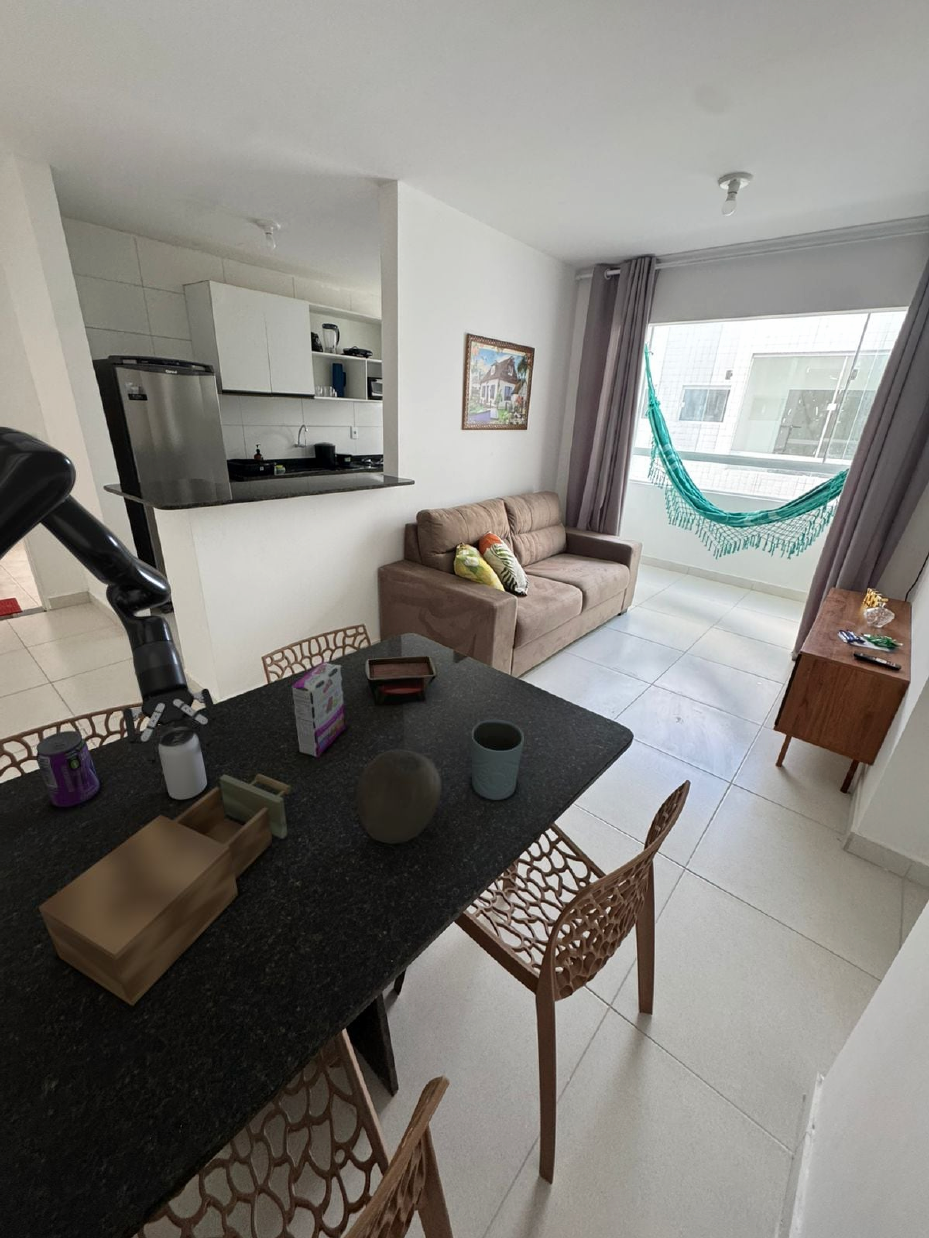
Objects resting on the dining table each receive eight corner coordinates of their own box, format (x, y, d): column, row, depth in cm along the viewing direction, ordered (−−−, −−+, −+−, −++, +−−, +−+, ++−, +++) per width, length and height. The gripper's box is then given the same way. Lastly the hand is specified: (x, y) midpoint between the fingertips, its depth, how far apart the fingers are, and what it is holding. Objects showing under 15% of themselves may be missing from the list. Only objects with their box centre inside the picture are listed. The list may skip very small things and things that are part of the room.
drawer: (251, 791, 95) (246, 757, 91) (306, 814, 90) (303, 779, 87) (150, 878, 77) (139, 839, 74) (212, 911, 73) (204, 872, 70)
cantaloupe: (418, 873, 82) (420, 801, 76) (341, 845, 86) (337, 775, 80) (450, 812, 94) (454, 746, 88) (382, 790, 98) (381, 726, 92)
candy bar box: (326, 723, 116) (322, 660, 110) (346, 728, 115) (342, 664, 108) (297, 752, 107) (290, 685, 100) (317, 758, 105) (312, 690, 99)
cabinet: (172, 860, 81) (160, 814, 77) (238, 894, 77) (229, 847, 73) (59, 957, 67) (38, 906, 63) (132, 1006, 62) (114, 954, 58)
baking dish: (371, 682, 137) (364, 651, 132) (437, 673, 138) (432, 642, 133) (369, 717, 125) (361, 684, 120) (441, 706, 126) (436, 673, 121)
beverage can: (101, 800, 92) (84, 746, 87) (51, 815, 88) (31, 760, 83) (99, 776, 97) (84, 724, 92) (53, 790, 94) (34, 737, 89)
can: (209, 773, 100) (199, 722, 95) (205, 797, 94) (194, 744, 89) (172, 779, 98) (160, 728, 93) (165, 804, 92) (152, 750, 87)
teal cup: (496, 810, 95) (502, 759, 90) (456, 783, 101) (459, 733, 96) (528, 783, 102) (535, 734, 97) (489, 760, 108) (493, 712, 103)
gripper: (112, 674, 88) (133, 764, 84) (202, 654, 96) (225, 736, 92) (116, 686, 94) (136, 771, 90) (200, 667, 102) (222, 744, 98)
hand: (181, 753), depth 91 cm, fingers open, 8 cm apart
